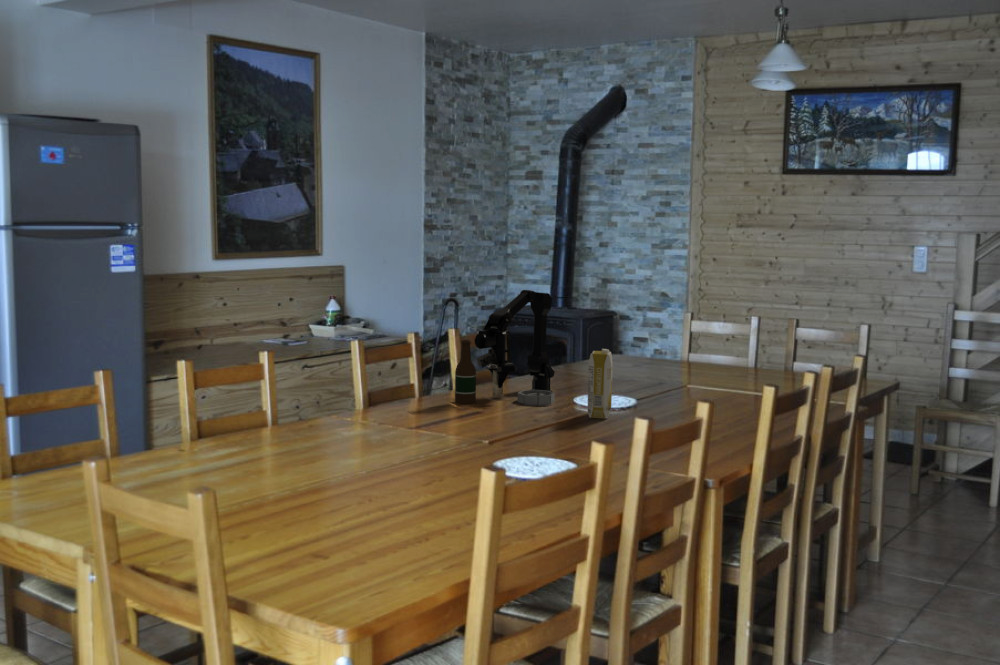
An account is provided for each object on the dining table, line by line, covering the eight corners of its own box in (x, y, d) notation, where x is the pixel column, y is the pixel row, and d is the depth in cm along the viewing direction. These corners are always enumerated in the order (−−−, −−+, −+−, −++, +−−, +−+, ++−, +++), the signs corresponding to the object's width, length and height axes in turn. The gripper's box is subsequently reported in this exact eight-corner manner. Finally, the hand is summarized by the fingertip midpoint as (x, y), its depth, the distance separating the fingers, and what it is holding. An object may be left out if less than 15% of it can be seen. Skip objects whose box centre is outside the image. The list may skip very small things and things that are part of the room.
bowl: (542, 399, 379) (542, 388, 378) (559, 405, 367) (559, 394, 367) (512, 401, 373) (512, 391, 373) (528, 407, 362) (529, 397, 361)
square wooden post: (499, 395, 378) (499, 369, 377) (503, 396, 376) (503, 370, 374) (492, 395, 377) (492, 369, 376) (495, 397, 374) (496, 370, 373)
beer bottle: (476, 402, 371) (477, 338, 368) (474, 406, 363) (475, 341, 360) (456, 401, 371) (457, 338, 368) (453, 405, 364) (454, 340, 361)
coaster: (503, 396, 382) (503, 395, 382) (513, 400, 374) (513, 399, 374) (482, 398, 378) (482, 396, 378) (492, 402, 370) (492, 401, 370)
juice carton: (609, 419, 342) (611, 351, 339) (586, 418, 344) (588, 350, 341) (611, 414, 351) (613, 347, 349) (589, 413, 353) (591, 346, 350)
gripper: (468, 344, 379) (468, 384, 381) (490, 350, 362) (489, 392, 364) (494, 343, 384) (494, 382, 385) (517, 349, 367) (516, 390, 369)
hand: (497, 387), depth 376 cm, fingers closed on square wooden post, 3 cm apart
